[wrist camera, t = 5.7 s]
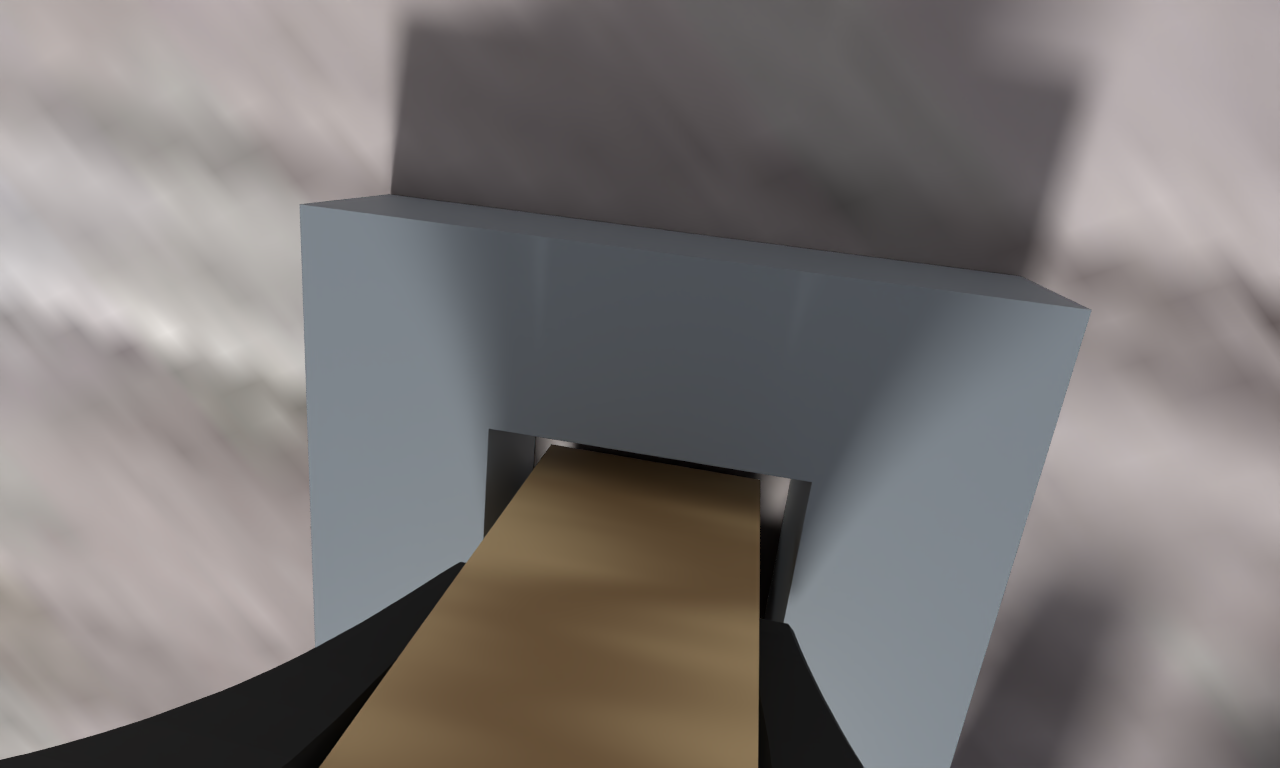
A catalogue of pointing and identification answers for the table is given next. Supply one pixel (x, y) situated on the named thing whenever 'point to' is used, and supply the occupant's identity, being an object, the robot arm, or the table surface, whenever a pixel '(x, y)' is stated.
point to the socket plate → (690, 421)
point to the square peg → (586, 631)
